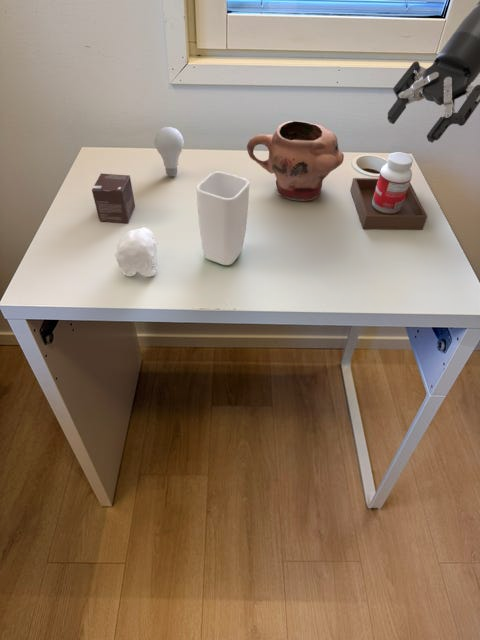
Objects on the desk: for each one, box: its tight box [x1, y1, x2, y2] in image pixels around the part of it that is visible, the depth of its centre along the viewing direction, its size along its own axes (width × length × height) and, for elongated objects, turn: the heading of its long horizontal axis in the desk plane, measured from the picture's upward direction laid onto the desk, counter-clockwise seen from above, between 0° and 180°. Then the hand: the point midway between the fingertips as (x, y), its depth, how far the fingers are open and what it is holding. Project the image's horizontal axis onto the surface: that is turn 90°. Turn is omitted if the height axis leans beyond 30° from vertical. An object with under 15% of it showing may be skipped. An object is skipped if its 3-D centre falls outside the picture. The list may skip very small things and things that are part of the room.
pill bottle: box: [372, 151, 414, 214], centre depth 94 cm, size 6×6×11 cm
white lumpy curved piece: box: [114, 226, 157, 278], centre depth 82 cm, size 6×8×12 cm
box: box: [91, 173, 136, 224], centre depth 92 cm, size 6×6×7 cm
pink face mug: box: [246, 120, 345, 201], centre depth 98 cm, size 20×12×14 cm, turn 87°
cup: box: [196, 170, 250, 266], centre depth 81 cm, size 7×7×15 cm
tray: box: [350, 177, 428, 231], centre depth 98 cm, size 14×12×3 cm
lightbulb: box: [154, 126, 185, 178], centre depth 101 cm, size 6×6×11 cm
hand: (409, 130), depth 82 cm, fingers open, 8 cm apart
